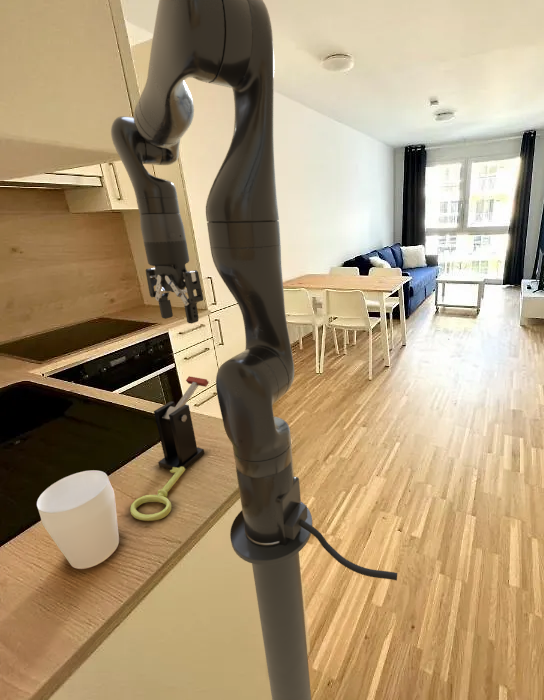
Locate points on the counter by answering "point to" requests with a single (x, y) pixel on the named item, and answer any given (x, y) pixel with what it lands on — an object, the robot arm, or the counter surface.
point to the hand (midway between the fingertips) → (180, 320)
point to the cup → (81, 517)
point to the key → (157, 499)
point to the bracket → (177, 438)
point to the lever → (186, 395)
